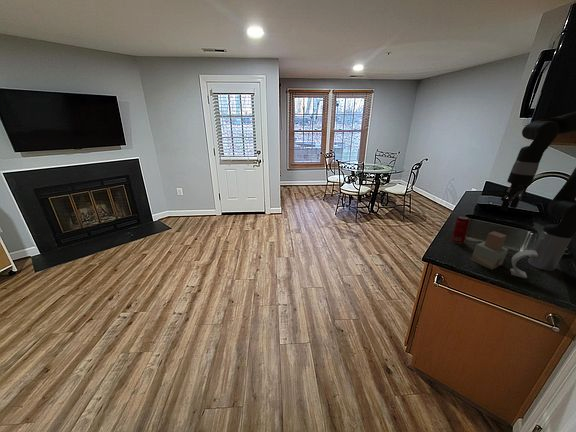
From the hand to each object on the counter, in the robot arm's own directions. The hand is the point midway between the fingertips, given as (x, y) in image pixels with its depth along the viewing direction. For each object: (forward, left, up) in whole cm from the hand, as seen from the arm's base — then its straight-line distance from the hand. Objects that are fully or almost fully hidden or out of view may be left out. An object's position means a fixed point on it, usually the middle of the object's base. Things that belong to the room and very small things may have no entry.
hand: (508, 208), depth 103 cm
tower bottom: (0, 0, -28) cm, 28 cm away
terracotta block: (0, 0, -19) cm, 19 cm away
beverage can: (-9, -19, -28) cm, 35 cm away
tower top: (0, 0, -24) cm, 24 cm away
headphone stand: (-2, +11, -28) cm, 30 cm away
